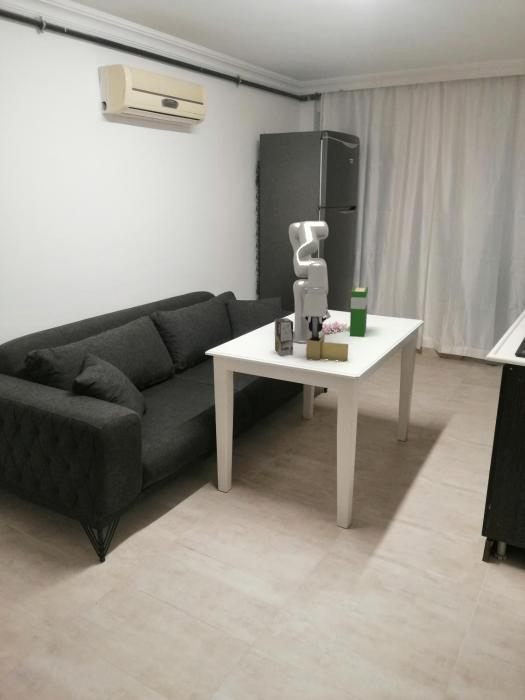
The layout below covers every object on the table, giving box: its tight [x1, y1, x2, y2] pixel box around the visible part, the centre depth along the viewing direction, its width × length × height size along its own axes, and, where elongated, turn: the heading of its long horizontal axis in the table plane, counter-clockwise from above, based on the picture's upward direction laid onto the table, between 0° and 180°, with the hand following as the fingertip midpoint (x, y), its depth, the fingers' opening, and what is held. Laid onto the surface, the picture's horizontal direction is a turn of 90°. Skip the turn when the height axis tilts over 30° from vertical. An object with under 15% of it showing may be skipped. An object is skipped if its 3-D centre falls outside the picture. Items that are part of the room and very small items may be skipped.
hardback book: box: [349, 286, 369, 338], centre depth 295 cm, size 18×7×24 cm, turn 166°
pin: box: [312, 317, 320, 341], centre depth 247 cm, size 3×3×15 cm
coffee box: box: [274, 317, 294, 357], centre depth 258 cm, size 9×6×16 cm
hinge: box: [306, 333, 349, 362], centre depth 254 cm, size 18×18×9 cm
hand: (315, 330), depth 248 cm, fingers closed on pin, 3 cm apart
